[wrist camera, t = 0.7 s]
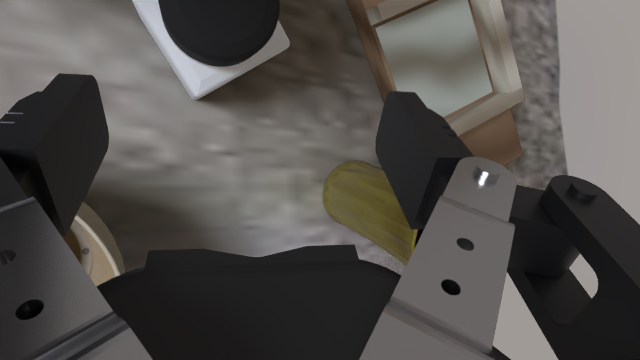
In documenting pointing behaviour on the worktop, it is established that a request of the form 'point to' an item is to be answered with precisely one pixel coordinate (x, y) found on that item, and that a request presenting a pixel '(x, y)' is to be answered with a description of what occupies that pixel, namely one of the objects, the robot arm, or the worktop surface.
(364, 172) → the vase
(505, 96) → the dock
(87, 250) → the planter bowl
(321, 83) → the worktop surface
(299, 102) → the worktop surface
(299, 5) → the worktop surface
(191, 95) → the medicine bottle
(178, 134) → the worktop surface
